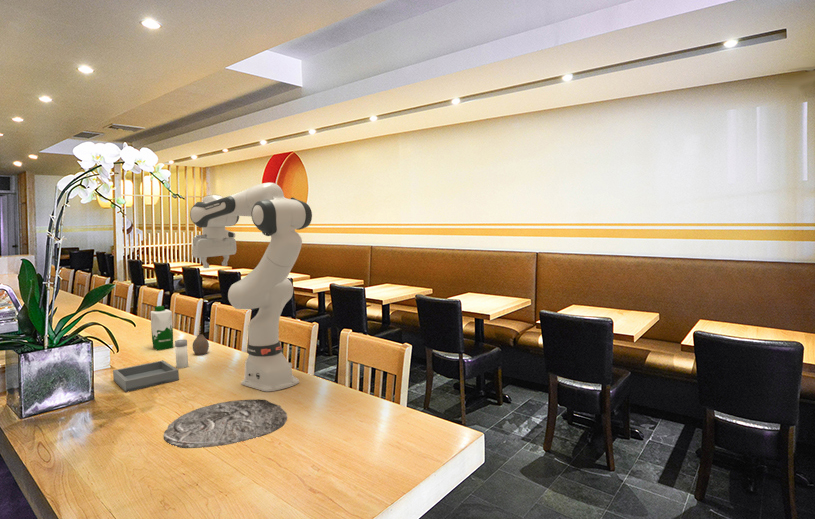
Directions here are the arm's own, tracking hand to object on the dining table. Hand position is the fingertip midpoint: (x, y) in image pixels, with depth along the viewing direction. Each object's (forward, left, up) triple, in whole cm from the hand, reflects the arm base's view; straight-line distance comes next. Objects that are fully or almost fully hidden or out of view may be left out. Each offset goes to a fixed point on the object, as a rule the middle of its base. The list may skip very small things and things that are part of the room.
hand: (215, 266), depth 200 cm
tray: (-1, +29, -42) cm, 51 cm away
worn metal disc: (-61, +23, -42) cm, 78 cm away
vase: (+21, 0, -42) cm, 47 cm away
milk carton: (+45, +9, -42) cm, 62 cm away
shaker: (+7, +13, -42) cm, 44 cm away
